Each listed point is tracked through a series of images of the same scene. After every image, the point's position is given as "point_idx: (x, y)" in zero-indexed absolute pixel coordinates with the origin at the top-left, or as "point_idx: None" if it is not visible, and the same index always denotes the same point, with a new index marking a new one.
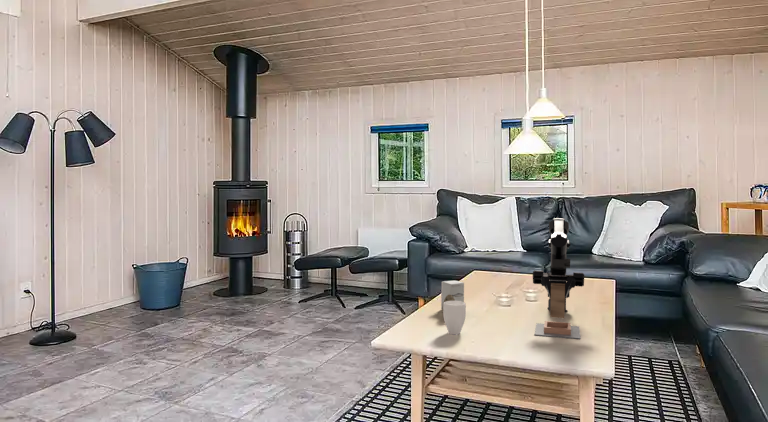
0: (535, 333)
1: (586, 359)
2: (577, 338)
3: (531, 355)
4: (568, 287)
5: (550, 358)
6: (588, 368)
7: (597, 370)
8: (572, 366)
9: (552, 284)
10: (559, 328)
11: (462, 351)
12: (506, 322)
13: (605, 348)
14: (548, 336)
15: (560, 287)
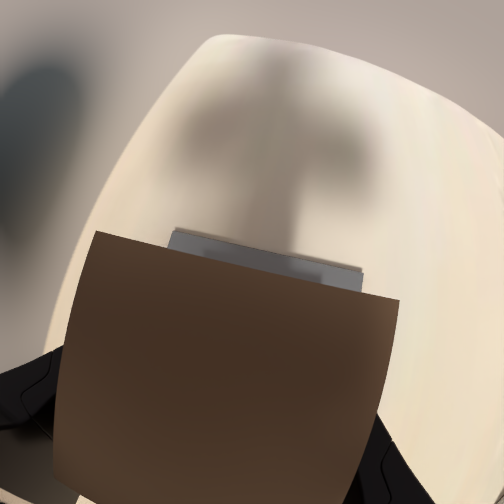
0: (357, 286)
1: (230, 69)
2: (184, 233)
3: (366, 89)
4: (41, 359)
5: (321, 72)
6: (245, 39)
7: (231, 35)
8: (277, 43)
9: (333, 443)
10: None
11: (491, 134)
12: (430, 449)
13: (135, 145)
14: (304, 260)
15: (186, 256)
